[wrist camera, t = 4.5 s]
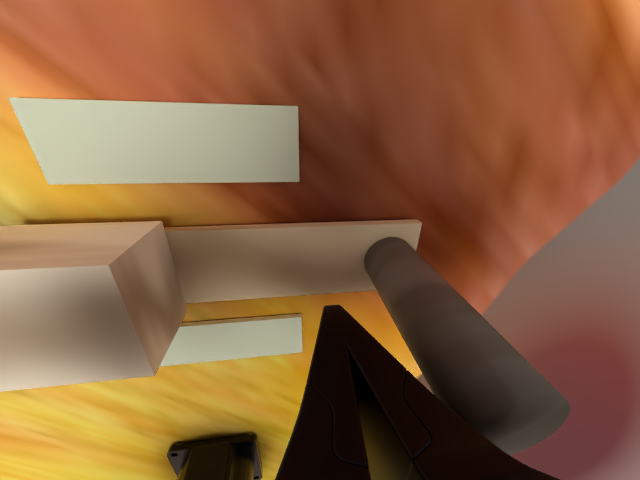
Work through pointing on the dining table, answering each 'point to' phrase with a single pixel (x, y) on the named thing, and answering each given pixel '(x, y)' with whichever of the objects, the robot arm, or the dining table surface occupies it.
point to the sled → (249, 283)
